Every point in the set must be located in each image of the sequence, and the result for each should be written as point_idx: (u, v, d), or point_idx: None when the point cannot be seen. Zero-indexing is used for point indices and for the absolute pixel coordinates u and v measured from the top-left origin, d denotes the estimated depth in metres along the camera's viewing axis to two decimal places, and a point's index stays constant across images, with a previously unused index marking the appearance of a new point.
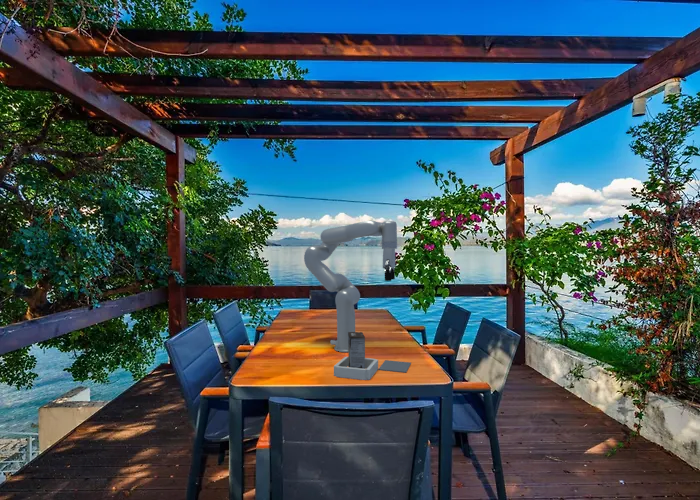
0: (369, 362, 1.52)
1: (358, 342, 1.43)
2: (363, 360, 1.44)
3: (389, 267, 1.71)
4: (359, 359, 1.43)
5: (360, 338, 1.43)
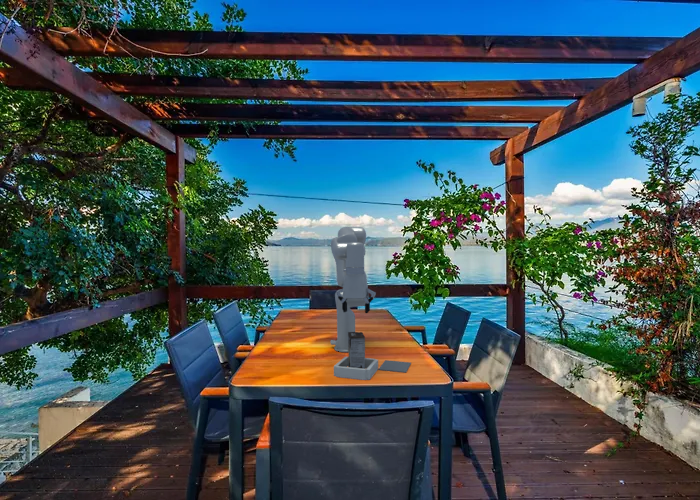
0: (369, 362, 1.52)
1: (358, 342, 1.43)
2: (363, 360, 1.44)
3: (366, 296, 1.47)
4: (359, 359, 1.43)
5: (360, 338, 1.43)
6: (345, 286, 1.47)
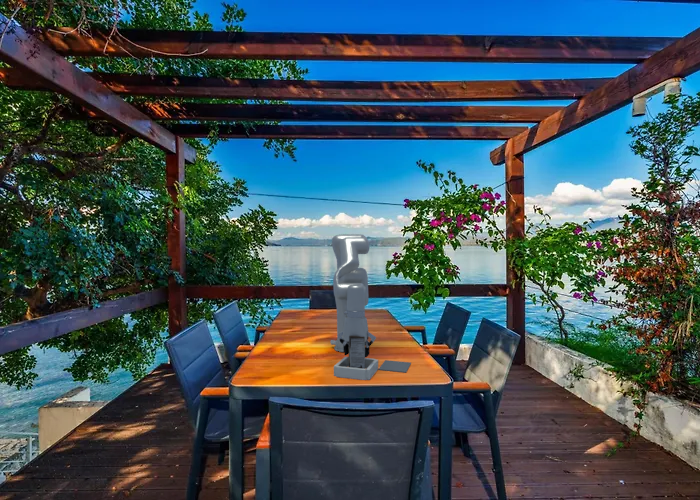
0: (369, 362, 1.52)
1: (358, 342, 1.43)
2: (363, 360, 1.44)
3: (366, 340, 1.47)
4: (359, 359, 1.43)
5: (360, 338, 1.43)
6: (345, 329, 1.46)
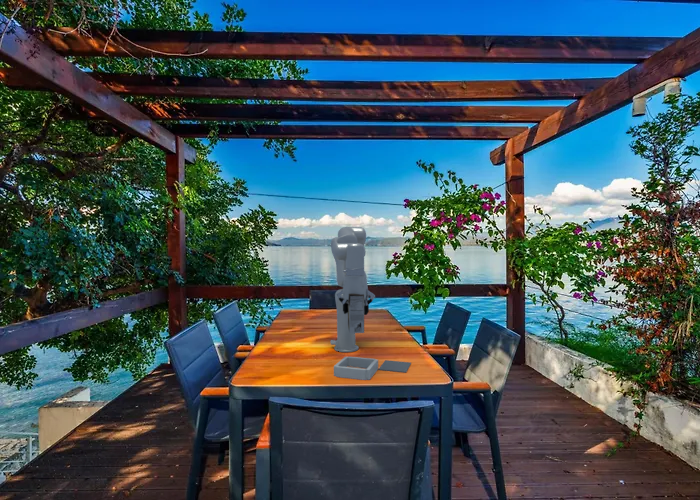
0: (369, 362, 1.52)
1: (357, 299, 1.44)
2: (362, 317, 1.44)
3: (366, 298, 1.48)
4: (358, 316, 1.44)
5: (359, 296, 1.44)
6: (345, 287, 1.47)
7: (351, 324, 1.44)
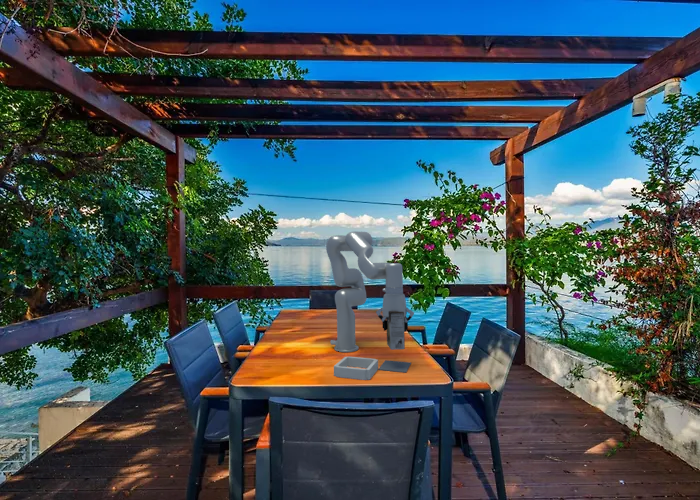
0: (369, 362, 1.52)
1: (398, 317, 1.50)
2: (402, 334, 1.50)
3: (405, 315, 1.54)
4: (398, 333, 1.50)
5: (399, 313, 1.50)
6: (385, 305, 1.53)
7: (392, 341, 1.50)
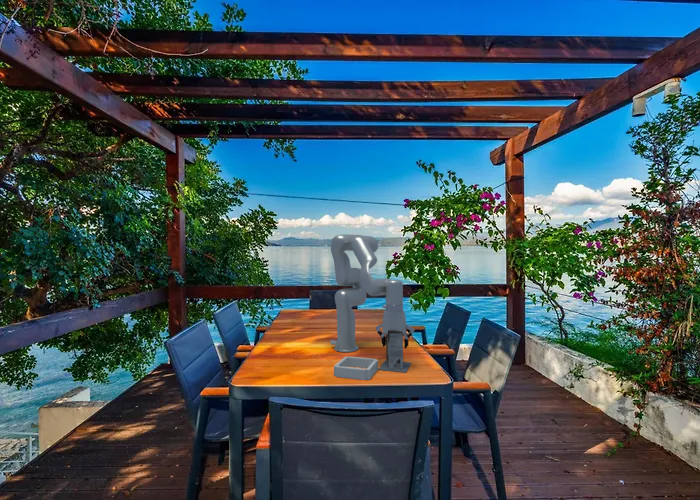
0: (369, 362, 1.52)
1: (396, 336, 1.50)
2: (401, 353, 1.50)
3: (405, 332, 1.54)
4: (397, 352, 1.50)
5: (398, 333, 1.50)
6: (385, 322, 1.53)
7: (390, 360, 1.50)
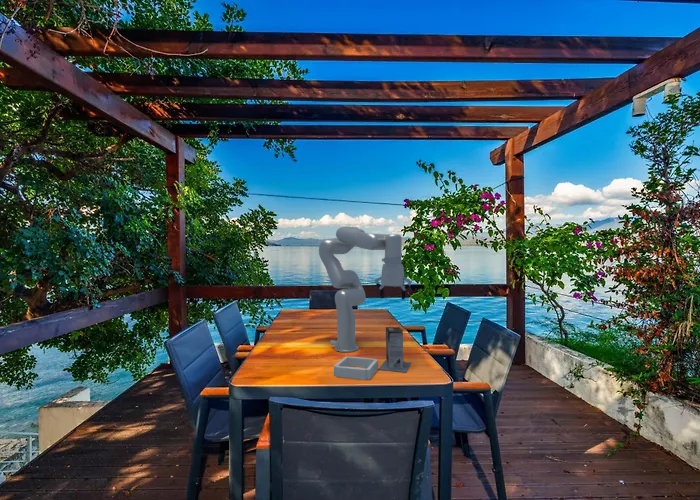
0: (369, 362, 1.52)
1: (396, 336, 1.50)
2: (401, 353, 1.50)
3: (403, 284, 1.59)
4: (397, 352, 1.50)
5: (398, 333, 1.50)
6: (383, 274, 1.59)
7: (390, 360, 1.50)
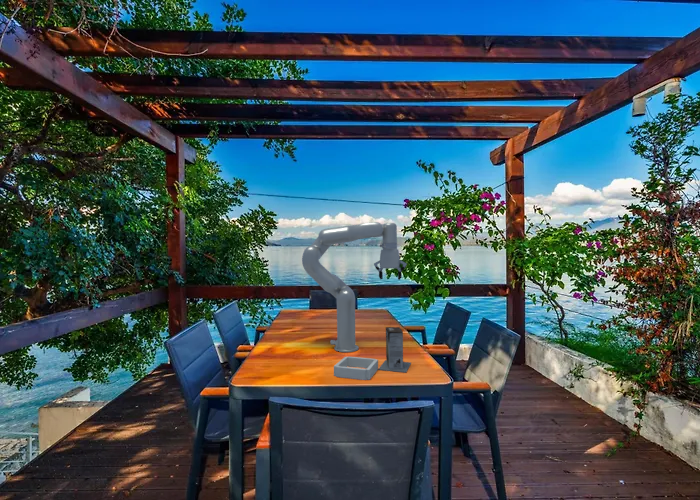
0: (369, 362, 1.52)
1: (396, 336, 1.50)
2: (401, 353, 1.50)
3: (399, 266, 1.83)
4: (397, 352, 1.50)
5: (398, 333, 1.50)
6: (382, 258, 1.83)
7: (390, 360, 1.50)
